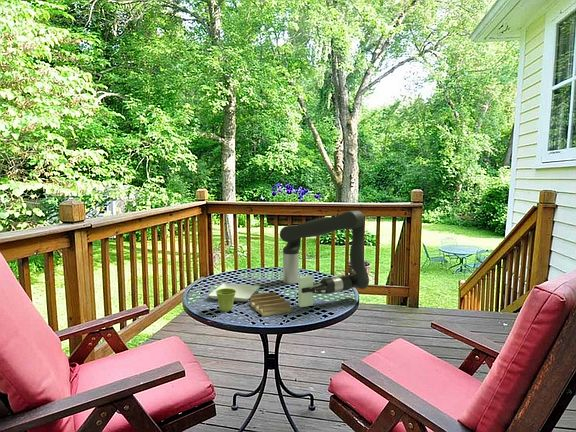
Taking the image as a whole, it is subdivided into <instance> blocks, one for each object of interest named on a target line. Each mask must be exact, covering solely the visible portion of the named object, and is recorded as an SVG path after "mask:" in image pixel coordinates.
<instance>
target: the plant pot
mask: <svg viewBox="0 0 576 432" xmlns="http://www.w3.org/2000/svg"><path fill="white" fill-rule="evenodd" d="M235 293H236V290H234V289H230V288H223V289H219V290H217V291H216V294H217V296H218V299H217V302H218V303H217V304H218V308H219V309H218V310H219V311H221V312H229V311H232V310H233V307H234V302H235V301H234V296H235Z"/></svg>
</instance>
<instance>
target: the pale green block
mask: <svg viewBox="0 0 576 432" xmlns="http://www.w3.org/2000/svg"><path fill="white" fill-rule="evenodd" d="M314 281H315V280H314V276H313V275H312V274H309V275H303V276H301V275H300V276H298V283H297V284H298V285H297V286H298V287H297V288H298V289H297V290H298V297H297V298H298V299H297V306H299V307H300V308H304V307H310V306H313V305H314V294H313V292H312V293H310V292H307V293H302V288H307V287H309V288H310V287H313V283H314Z"/></svg>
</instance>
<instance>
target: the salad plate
mask: <svg viewBox="0 0 576 432" xmlns="http://www.w3.org/2000/svg"><path fill="white" fill-rule="evenodd" d="M223 288H230V289H234V290H236V293H235V296H234V302H247V301H249V300H251V295H255V293H256V292H257V291H258V290H259V288H260V285H254V284H245V283H243V284H241V283H228V282H223V283H222V284H220V285H219V286H217V288H216V289H214V290H213V291H212V292H210V293H209V294H208V297H209V298H211V299H213V300H218V296H217V294H216V291H217V290H219V289H223Z"/></svg>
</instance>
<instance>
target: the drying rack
mask: <svg viewBox="0 0 576 432" xmlns="http://www.w3.org/2000/svg"><path fill="white" fill-rule="evenodd" d="M281 296H282V295H280V294H277V292H276V291H272V292H264V293H257V294H253V295H251V297H250V301H249V305H250V306H251V307H252V308H253V309H254V310H256V312H258V313H259V314H260V315H261V316H262V317H267V316H273V315H279V314H284V313H290V312H292V308H291V301H286V298H285V297H282V298H281Z"/></svg>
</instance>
